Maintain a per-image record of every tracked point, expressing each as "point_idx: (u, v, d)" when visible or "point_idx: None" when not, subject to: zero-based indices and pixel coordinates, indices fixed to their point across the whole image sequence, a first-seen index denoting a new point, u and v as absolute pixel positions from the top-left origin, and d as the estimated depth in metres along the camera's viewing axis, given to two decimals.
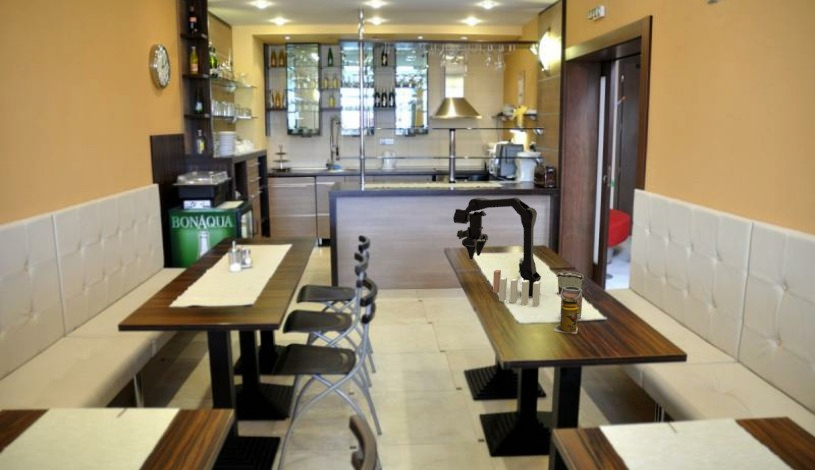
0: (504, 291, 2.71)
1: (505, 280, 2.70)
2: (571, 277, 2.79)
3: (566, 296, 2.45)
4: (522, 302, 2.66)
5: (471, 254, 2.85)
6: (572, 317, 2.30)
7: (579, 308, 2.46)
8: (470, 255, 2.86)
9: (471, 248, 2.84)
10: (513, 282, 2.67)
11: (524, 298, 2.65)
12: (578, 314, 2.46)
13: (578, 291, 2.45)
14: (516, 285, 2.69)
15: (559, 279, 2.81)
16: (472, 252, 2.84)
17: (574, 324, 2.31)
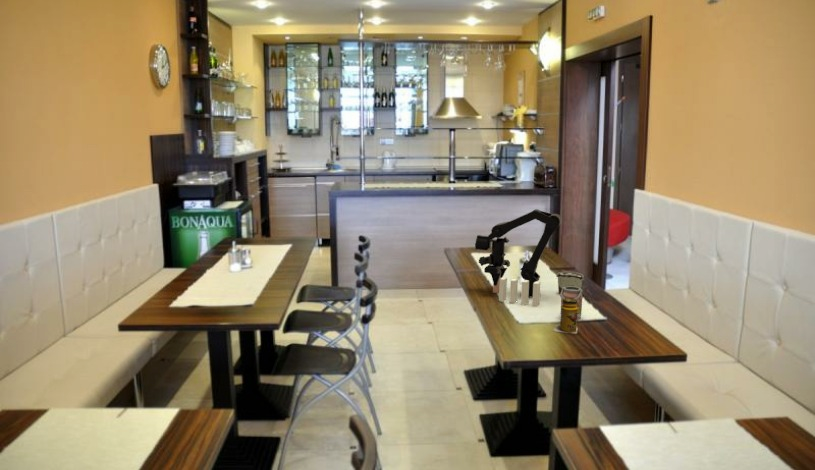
0: (504, 291, 2.71)
1: (505, 280, 2.70)
2: (571, 277, 2.79)
3: (566, 296, 2.45)
4: (522, 302, 2.66)
5: (495, 280, 2.82)
6: (572, 317, 2.30)
7: (579, 308, 2.46)
8: (494, 281, 2.83)
9: (495, 274, 2.81)
10: (513, 282, 2.67)
11: (524, 298, 2.65)
12: (578, 314, 2.46)
13: (578, 291, 2.45)
14: (516, 285, 2.69)
15: (559, 279, 2.81)
16: (496, 278, 2.81)
17: (574, 324, 2.31)
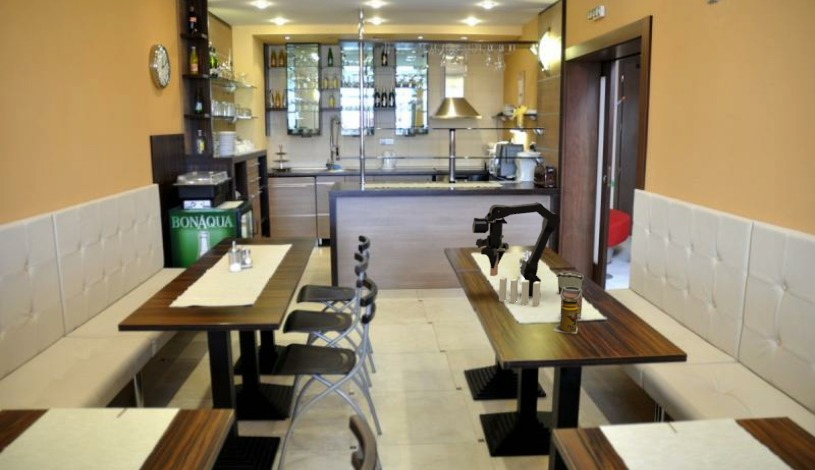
0: (504, 291, 2.71)
1: (505, 280, 2.70)
2: (571, 277, 2.79)
3: (566, 296, 2.45)
4: (522, 302, 2.66)
5: (492, 263, 2.74)
6: (572, 317, 2.30)
7: (579, 308, 2.46)
8: (491, 264, 2.74)
9: (493, 257, 2.73)
10: (513, 282, 2.67)
11: (524, 298, 2.65)
12: (578, 314, 2.46)
13: (578, 291, 2.45)
14: (516, 285, 2.69)
15: (559, 279, 2.81)
16: (494, 261, 2.73)
17: (574, 324, 2.31)
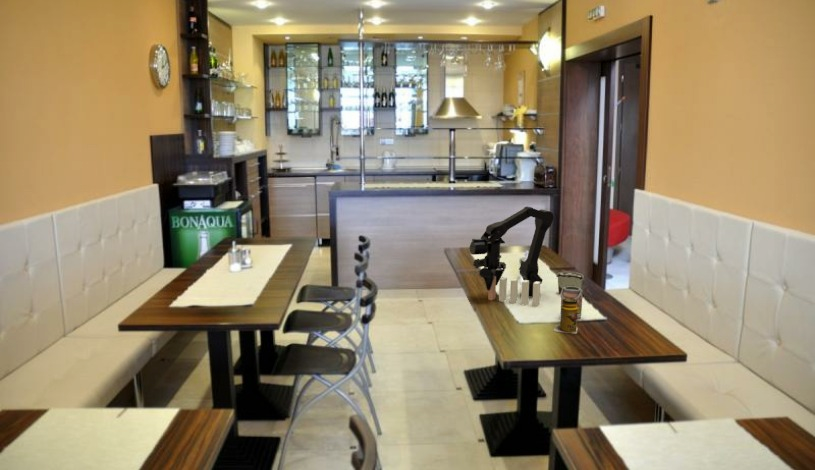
0: (504, 291, 2.71)
1: (505, 280, 2.70)
2: (571, 277, 2.79)
3: (566, 296, 2.45)
4: (522, 302, 2.66)
5: (489, 285, 2.68)
6: (572, 317, 2.30)
7: (579, 308, 2.46)
8: (488, 286, 2.69)
9: (489, 278, 2.67)
10: (513, 282, 2.67)
11: (524, 298, 2.65)
12: (578, 314, 2.46)
13: (578, 291, 2.45)
14: (516, 285, 2.69)
15: (559, 279, 2.81)
16: (490, 283, 2.68)
17: (574, 324, 2.31)
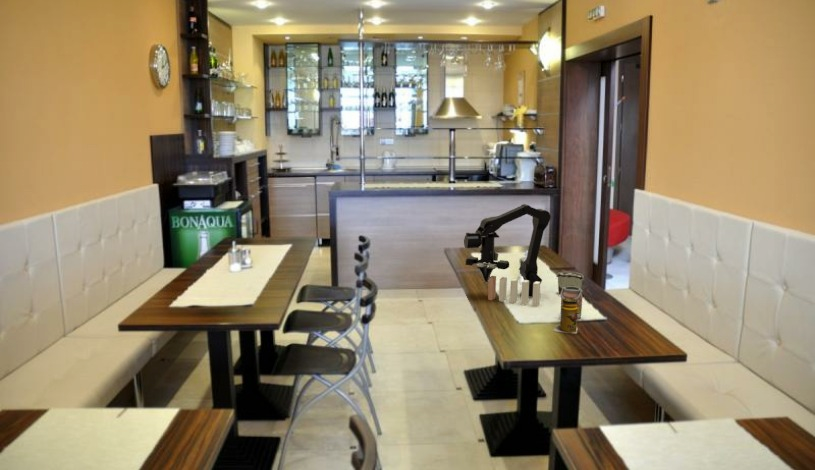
0: (504, 291, 2.71)
1: (505, 280, 2.70)
2: (571, 277, 2.79)
3: (566, 296, 2.45)
4: (522, 302, 2.66)
5: None
6: (572, 317, 2.30)
7: (579, 308, 2.46)
8: None
9: None
10: (513, 282, 2.67)
11: (524, 298, 2.65)
12: (578, 314, 2.46)
13: (578, 291, 2.45)
14: (516, 285, 2.69)
15: (559, 279, 2.81)
16: None
17: (574, 324, 2.31)
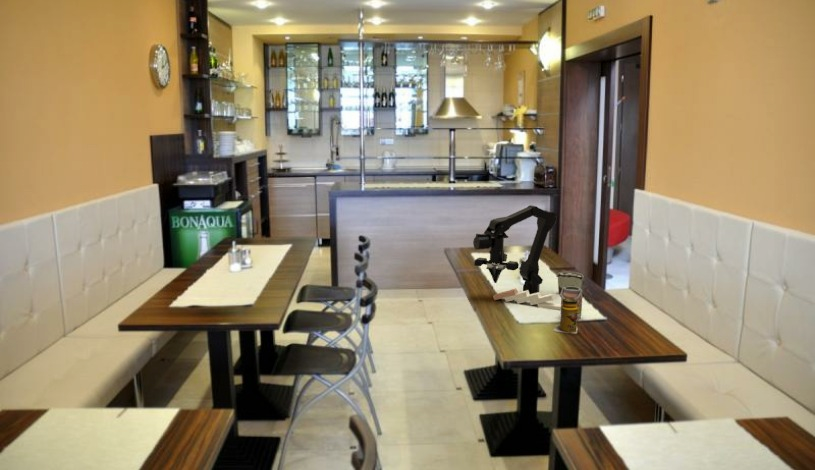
0: (515, 298, 2.69)
1: (526, 295, 2.67)
2: (571, 277, 2.79)
3: (566, 296, 2.45)
4: (531, 301, 2.64)
5: None
6: (572, 317, 2.30)
7: (579, 308, 2.46)
8: None
9: None
10: (536, 297, 2.63)
11: (536, 302, 2.63)
12: (578, 314, 2.46)
13: (578, 291, 2.45)
14: None
15: (559, 279, 2.81)
16: None
17: (574, 324, 2.31)
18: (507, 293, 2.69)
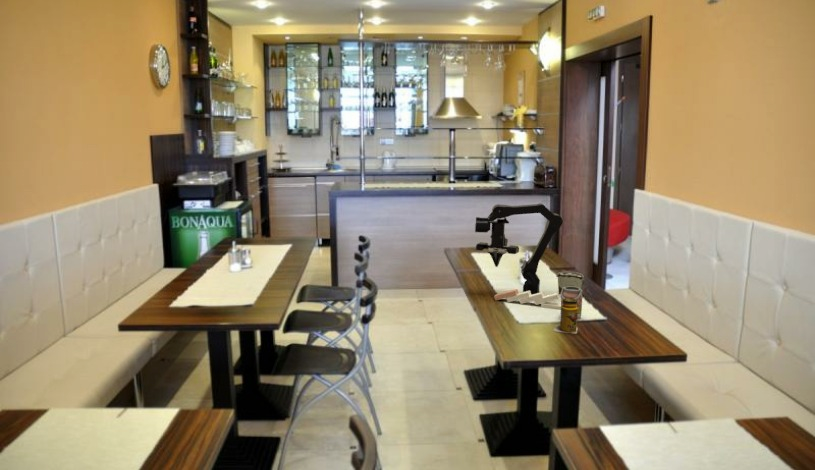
0: None
1: None
2: (571, 277, 2.79)
3: (566, 296, 2.45)
4: (536, 301, 2.64)
5: None
6: (572, 317, 2.30)
7: (579, 308, 2.46)
8: None
9: None
10: (540, 297, 2.63)
11: (541, 302, 2.63)
12: (578, 314, 2.46)
13: (578, 291, 2.45)
14: None
15: (559, 279, 2.81)
16: None
17: (574, 324, 2.31)
18: (508, 294, 2.69)
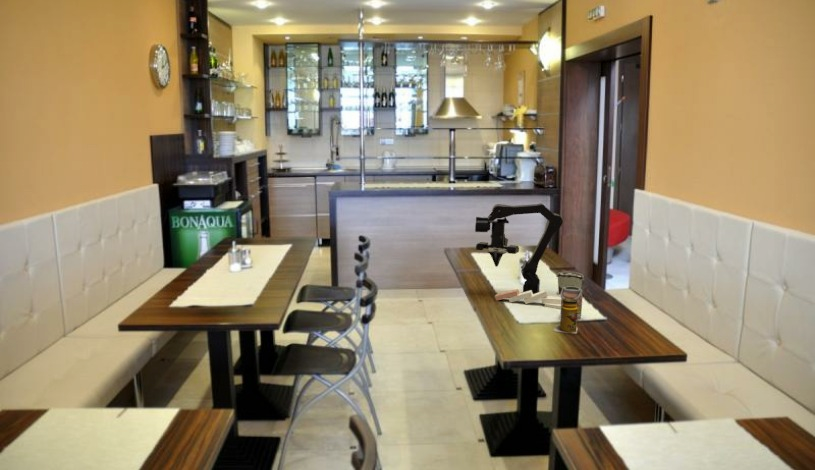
0: None
1: None
2: (571, 277, 2.79)
3: (566, 296, 2.45)
4: (544, 300, 2.64)
5: None
6: (572, 317, 2.30)
7: (579, 308, 2.46)
8: None
9: None
10: (545, 294, 2.64)
11: (548, 302, 2.63)
12: (578, 314, 2.46)
13: (578, 291, 2.45)
14: None
15: (559, 279, 2.81)
16: None
17: (574, 324, 2.31)
18: (509, 294, 2.69)
